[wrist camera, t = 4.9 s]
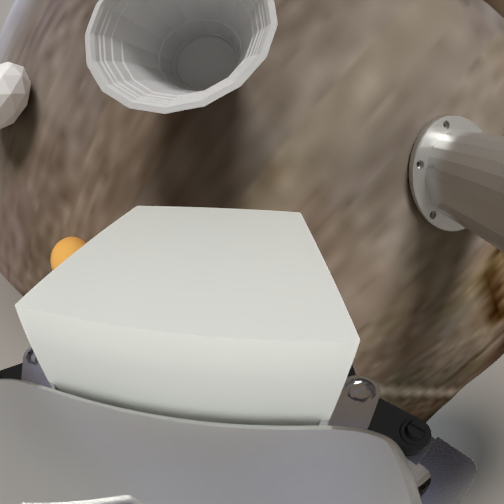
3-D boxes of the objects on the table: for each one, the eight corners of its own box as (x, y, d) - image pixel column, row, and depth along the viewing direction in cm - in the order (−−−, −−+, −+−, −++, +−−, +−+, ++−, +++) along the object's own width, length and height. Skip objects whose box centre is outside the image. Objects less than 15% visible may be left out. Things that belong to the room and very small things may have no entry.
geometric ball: (45, 87, 24) (40, 82, 18) (5, 140, 23) (-8, 148, 18) (10, 55, 18) (-2, 43, 13) (-30, 108, 18) (-51, 110, 12)
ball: (97, 231, 28) (74, 249, 24) (103, 272, 30) (83, 295, 26) (63, 229, 28) (38, 246, 24) (70, 268, 30) (48, 289, 25)
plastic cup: (201, 144, 25) (158, 156, 14) (129, 69, 22) (55, 42, 11) (294, 70, 22) (323, 26, 11) (216, -4, 19) (192, -73, 8)
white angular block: (300, 212, 13) (360, 340, 5) (283, 343, 16) (296, 485, 8) (137, 205, 13) (14, 305, 5) (152, 334, 16) (101, 460, 8)
